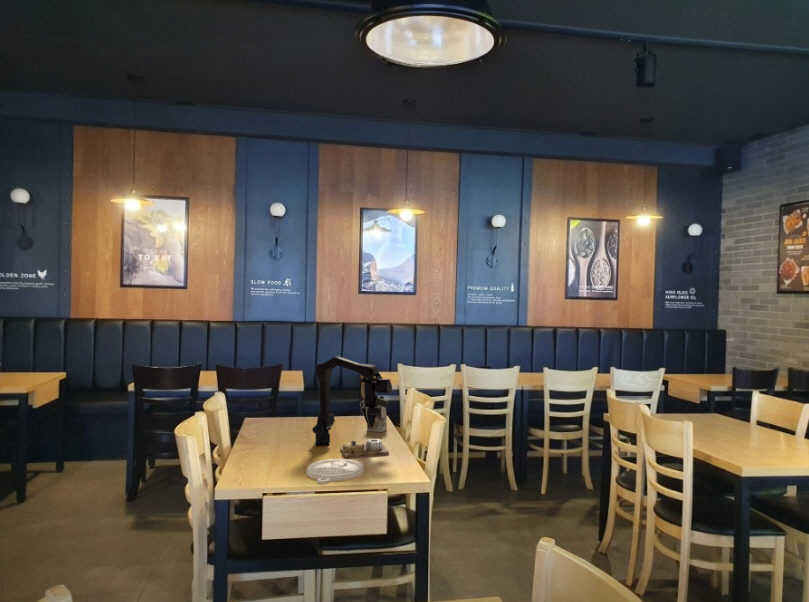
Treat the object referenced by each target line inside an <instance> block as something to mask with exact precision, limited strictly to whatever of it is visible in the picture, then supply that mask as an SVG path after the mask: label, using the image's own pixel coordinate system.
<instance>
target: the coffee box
mask: <svg viewBox="0 0 809 602" xmlns="http://www.w3.org/2000/svg"><path fill="white" fill-rule="evenodd" d="M377 407H378V408H379V409H380V414H379V415H377V416H376V418H375V421H374V425H373V428H371V427H370V425H369V423H366V428H367V429H366V431H368V432H378V433H383V432H385V431H387V427H388V426H387V425H388V424H387V407H386V408H384V407H383V406H380V405H378V406H377Z"/></svg>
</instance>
